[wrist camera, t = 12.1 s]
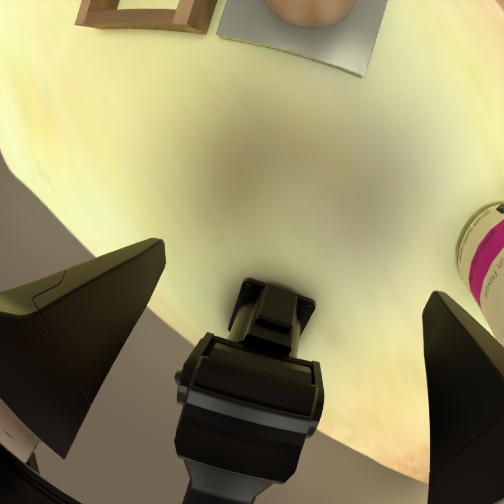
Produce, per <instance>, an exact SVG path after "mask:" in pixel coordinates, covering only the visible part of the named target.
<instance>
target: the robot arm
mask: <svg viewBox="0 0 504 504" xmlns="http://www.w3.org/2000/svg"><path fill="white" fill-rule="evenodd" d="M165 264H166V257H165V244H164V241H163V240H162V239H157V238H149V239H147V240H144V241H141V242H138V243H135V244H132V245H130V246H127V247H124V248H121V249H118V250H116V251H113V252H110V253H107V254H105V255H102V256H99V257H97V258H94V259H91V260H89V261H86V262H83V263H81V264H78V265H76V266H73V267H71V268H68V269H67V270H63V271H60V272H58V273H55V274H52V275H50V276H47V277H45V278H42V279H38V280H36V281H33V282H30V283H27V284H24V285H21V286H18V287H15V288H12V289H9V290H6V291H3V292H0V504H85V503H83V502H81V501H79V500H78V499H76V498H74V497H73V496H71V495H70V494H68V493H66V492H65V491H63V490H62V489H60V488H59V487H57V486H56V485H54V484H53V483H51V482H50V481H48V480H47V479H45V478H44V477H43V476H41V475H40V473H39V469H38V465H37V461H36V457H35V453H34V450H35V448H36V447H37V445H38V443H39V444H41V445H42V446H44V447H45V448H46V449H48V450H50V451H51V452H52V453H54V454H55V455H57V456H59V457H60V458H62V459H63V460H64V459H65V458H66V456H67V454H68V451H69V450H70V447H71V445H72V443H73V441H74V439H75V437H76V435H77V433H78V431H79V429H80V427H81V425H82V423H83V421H84V419H85V417H86V415H87V413H88V411H89V408H90V407H91V406H90V405H92V403H93V401H94V399H95V397H96V395H97V393H98V391H99V389H100V387H101V385H102V384H103V382H104V380H105V378H106V376H107V374H108V372H109V371H110V369H111V367H112V365H113V363H114V361H115V360H116V358H117V356H118V354H119V352H120V351H121V349H122V347H123V345H124V343H125V342H126V340H127V338H128V337H129V335H130V333H131V331H132V329H133V328H134V326H135V325H136V323H137V321H138V319H139V318H140V316H141V314H142V313H143V311H144V309H145V308H146V306H147V304H148V302H149V300H150V298H151V296H152V294H153V292H154V289H155V287H156V285H157V283H158V281H159V279H160V276H161V274H162V272H163V270H164V268H165ZM247 283H248V284H250V285H251V286H248V285H247ZM307 305H312V306H307ZM315 306H316V304H315V302H314V301H313V300H311V299H308V298H305V297H302V296H299V295H296V294H295V293H292V292H289V291H286V290H283V289H280V288H277V287H274V286H271V285H267V284H264V283H261V282H258V281H256V280H253V279H249V278H247V279H245V280H244V281H243V284H242V287H241V290H240V293H239V296H238V299H237V302H236V305H235V308H234V311H233V314H232V318H231V321H230V324H229V327H228V330H229V331H230V334H229V336H228V339H224V338H221V337H218V336H214V334H212V333H209V332H207V333H206V335H205V336H204V338H203V339H202V338H201V340H200V341H199V343H198V344H197V345H196V347H195V349H194V350H193V352H192V353H191V354H190V356H189V357H188V359H187V360H186V362H185V363H184V366H183V367H181V368H180V369H179V370H178V371H177V372H176V374H175V378H174V379H175V381H176V383H177V385H178V393H177V403H178V404H180V405H183V409H182V412H181V416H180V419H179V423H178V426H177V430H176V436H175V440H174V442H175V447H176V452H177V456H178V457H179V458H181V459H183V460H184V462H185V465H186V468H187V471H188V474H189V477H190V481H189V485H188V488H187V491H186V494H185V497H184V500H183V503H182V504H253V503H254V501H255V498H256V496H257V495H259V494H260V493H261V492H263V491H264V490H265V489H267V488H268V487H270V486H271V485H272V484H273V483H276V484H284V483H285V482H286V481H287V480H288V479H289V478H290V477H291V476H292V475H293V474H294V473H295V471H296V468H297V464H298V460H299V456H300V453H301V450H302V447H303V445H304V442H305V439H306V438H310V437H311V436H312V435H313V434H314V432H315V430H316V428H317V426H318V424H319V421H320V418H321V414H322V410H323V405H324V388H323V382H322V375H321V368H320V362H316V361H312V362H310V361H306V360H302V359H298V358H297V351H298V344H299V337H300V335H301V334H302V332H303V330H304V328H305V326H306V325H307V323H308V321H309V319H310V317H311V315H312V314H313V312H314V310H315ZM422 321H423V341H424V359H425V368H426V377H427V388H428V401H429V419H430V472H429V490H428V503H427V504H504V347H503V346H502V345H501V344H500V343H499V342H498V341H497V340H496V339H495V338H494V337H493V336H492V335H491V334H490V333H489V332H488V331H487V330H486V329H485V328H484V327H483V326H482V325H480V324H479V323H478V322H477V321H476V320H475V319H474V318H473V317H472V316H471V315H470V314H469V313H468V312H466V311H465V310H464V309H463V308H462V307H461V306H460V305H459V304H458V303H456V302H455V301H454V300H453V299H452V298H451V297H450V296H448V295H447V294H446V293H445V292H441V291H433V292H432V294H431V296H430V298H429V300H428V302H427V304H426V306H425V308H424V310H423V314H422Z"/></svg>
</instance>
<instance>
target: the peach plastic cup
mask: <svg viewBox="0 0 504 504" xmlns="http://www.w3.org/2000/svg"><path fill="white" fill-rule="evenodd" d="M264 2H265V3H266V5H267V7H268V8H269V9H270V11H271V12H272V13H273V14H274V15H276V16H277V17H278V18H280V19H281V20H283V21H285V22H287V23H289V24H291V25H294V26H298V27H303V28H322V27H327V26H330V25H333V24H335V23H337V22H339V21H341V20H342V19H344V18H345V17H346V16H347V15H348V14H349V12H350V11H351V9H352V8H353V5H354V2H355V0H264Z"/></svg>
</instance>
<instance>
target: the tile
mask: <svg viewBox="0 0 504 504" xmlns="http://www.w3.org/2000/svg"><path fill="white" fill-rule="evenodd" d="M386 3H387V0H355V2H354V5H353V8H352V9H351V11H350V12H349V14H348V15H347V16H346V17H345V18H344V19H342V20H341V21H339V22H337V23H335V24H333V25H330V26H327V27H322V28H303V27H298V26H294V25H291V24H289V23H287V22H285V21H283V20H281V19H280V18H278V17H277V16H276V15H274V14H273V13H272V12H271V11H270V9H269V8H268V7H267V5H266V3H265V2H264V0H227V2H226V5H225V8H224V11H223V14H222V17H221V20H220V23H219V26H218V29H217V32H216V36H218V37H220V38H225V39H231V40H237V41H242V42H247V43H252V44H256V45H261V46H265V47H269V48H273V49H277V50H281V51H285V52H289V53H292V54H296V55H299V56H303V57H306V58H309V59H313V60H316V61H319V62H322V63H325V64H328V65H331V66H334V67H336V68H339V69H342V70H345V71H347V72H350V73H353V74H355V75H358V76H360V77H363V76H364V75H365V72H366V69H367V66H368V63H369V59H370V56H371V53H372V50H373V47H374V44H375V40H376V37H377V34H378V31H379V27H380V24H381V21H382V17H383V14H384V10H385V7H386Z"/></svg>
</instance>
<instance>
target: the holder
mask: <svg viewBox="0 0 504 504" xmlns="http://www.w3.org/2000/svg"><path fill="white" fill-rule="evenodd" d="M118 2H119V0H82V2H81V5H80V9H79V12H78V15H77V19H76V22H75V25H78V26H85V27H92V28H98V29H155V30H171V31H182V32H192V33H200V34H206V33H207V30H208V27H209V24H210V20H211V17H212V14H213V11H214V8H215V5H216V2H217V0H180V1H179V4H178V7H177V10H172V9H123V10H116V9H117V6H118Z"/></svg>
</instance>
